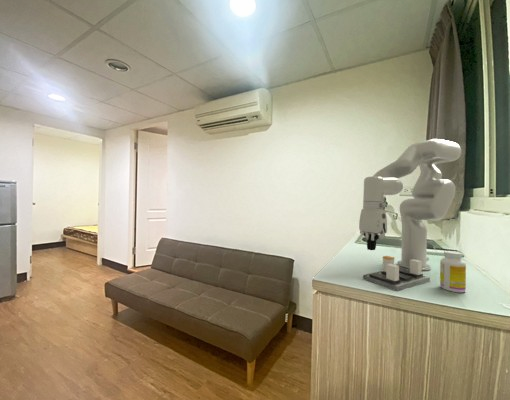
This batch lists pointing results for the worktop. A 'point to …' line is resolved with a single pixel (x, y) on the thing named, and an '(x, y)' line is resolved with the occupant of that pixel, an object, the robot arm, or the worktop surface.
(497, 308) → the worktop surface
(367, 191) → the robot arm
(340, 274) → the worktop surface
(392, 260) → the block
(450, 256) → the supplement bottle
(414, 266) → the block
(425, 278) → the panel
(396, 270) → the block
